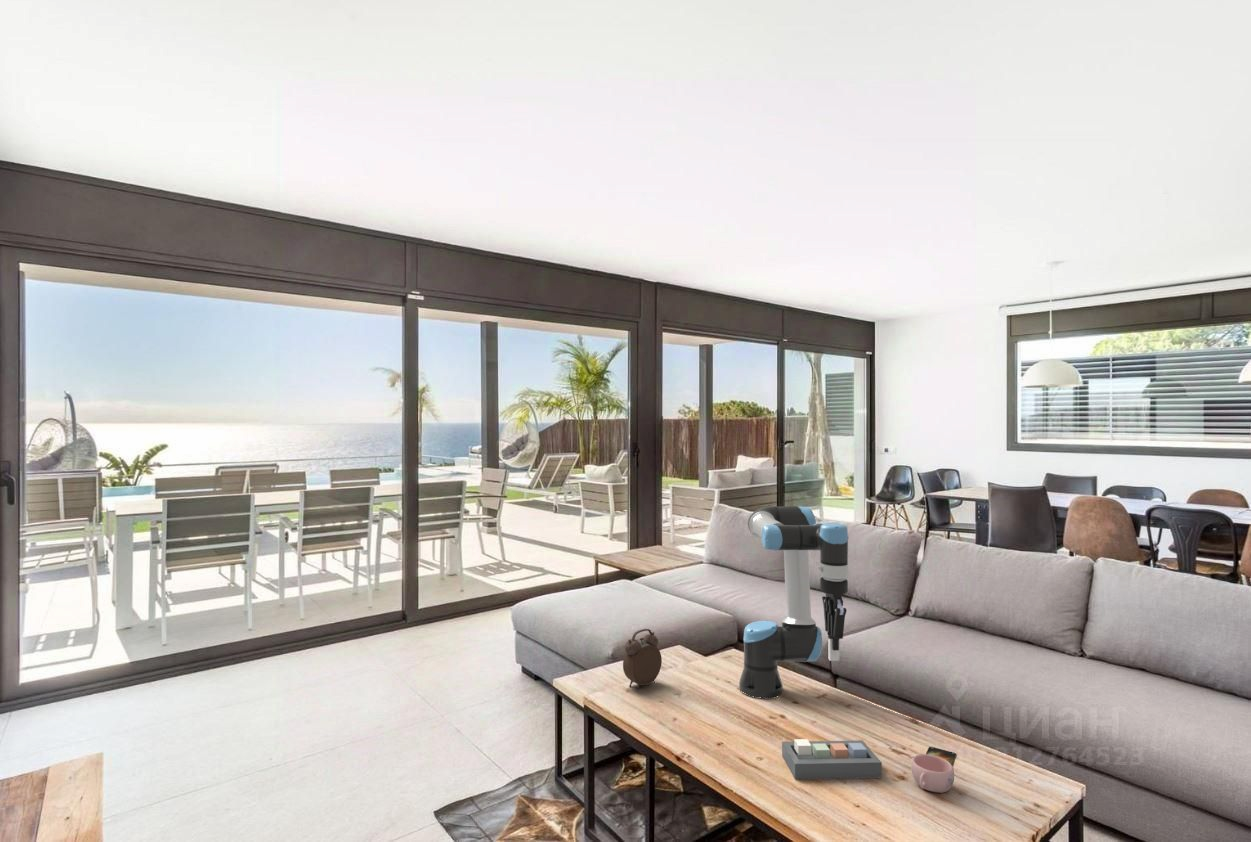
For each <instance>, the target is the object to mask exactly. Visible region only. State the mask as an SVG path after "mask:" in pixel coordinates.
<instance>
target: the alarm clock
mask: <svg viewBox="0 0 1251 842" xmlns="http://www.w3.org/2000/svg"><path fill="white" fill-rule="evenodd" d="M642 632H648V633H647V634H645V635H644V636H643V637H641V638H639V640H640V641H638V639H636V636H637V635H638V634H640V633H642ZM627 640H628V641H626V642H625V644H624V651H625V655H624V656H623V660H622V669H623V673H624V675H625V677H626V678H627V679H628V680H630V683H629V685H628V687H629V688H631V687H632V685H633V683H635V684H637V687H636V689H637V690H638V689H639V688H640V685H641V686H647V685H648V686H649V684H652V683H653V684H656V681H655V680H656V678H657V677H658V675H659V674H660V673H661V672H660V671H661V668H662V653H661V651H660V650H659V648H658V645H659V639H658V637H657V636H656V635H655V632H654V631H652V630H651V629H649V628H642V629H639V630H636V631H635V632H634V633H633V635H632V638H631V639H627Z"/></svg>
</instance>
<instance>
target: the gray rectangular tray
mask: <svg viewBox="0 0 1251 842" xmlns="http://www.w3.org/2000/svg"><path fill="white" fill-rule="evenodd" d="M808 741H809V743H810V744H811V746H812V744H824V743H825V744H826V745H827V747H828V748H829V749H830V743H843V744H844V745H845V746H846V747H847V749H848V743H862V745H863V746H864V747H865V748H866V749H867V758H855V759H853V757H852V756H851V755H850V753H849V752H848V759H835V758H834V757H833V755H832V754H831V752H830V759H816V757H815V756H814V754H813V753H812V755H798V753H797V752H796V750H795V749H794V741H782V742H781V756H782V759H783V760H784V763H785V765H786V767H788V769H789V771H790V773H791V775H792V777H793V778H794V780H831V779H832V780H833V779H834V780H835V779H837V780H838V779H843V780H844V779H882V778H883V775H882V774H883V772H882V770H883V769H882V768H883V767H882V761H881V760H880V759H879V758H878V757H877V755H876V754H875V753H874V752H873V751H872V749H871V748H870V747H869V746H868V745H867V744H866V742H865V741H864V740H808Z"/></svg>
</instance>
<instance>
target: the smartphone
mask: <svg viewBox="0 0 1251 842" xmlns="http://www.w3.org/2000/svg"><path fill="white" fill-rule="evenodd" d="M925 754H927V755H933V756H937V757H940V758H942V759H944V760H946V761H948V762H949V763H950V764H951V765H952V767H953V765H954V762H955V760H956V756H957V753H956V752H953V751H950V750H945V749H942V748H938V747H934V746H928V748H927V750H926V753H925Z"/></svg>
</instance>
